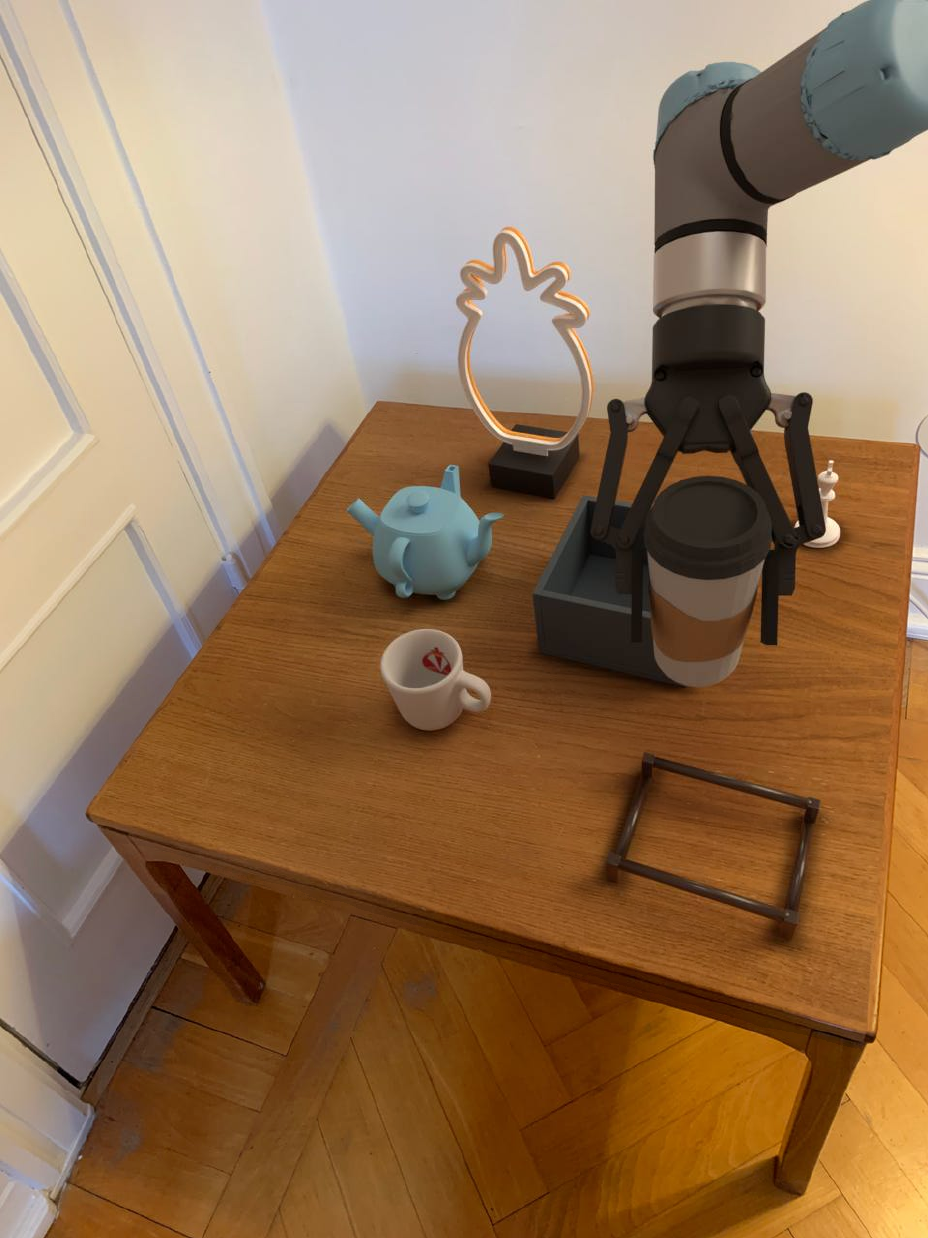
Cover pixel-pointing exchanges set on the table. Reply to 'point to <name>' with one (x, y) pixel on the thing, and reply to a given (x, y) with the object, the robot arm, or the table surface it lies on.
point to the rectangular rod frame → (784, 916)
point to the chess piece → (826, 509)
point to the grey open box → (593, 601)
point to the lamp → (546, 454)
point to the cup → (430, 679)
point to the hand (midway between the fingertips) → (701, 642)
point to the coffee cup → (704, 574)
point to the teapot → (427, 538)
